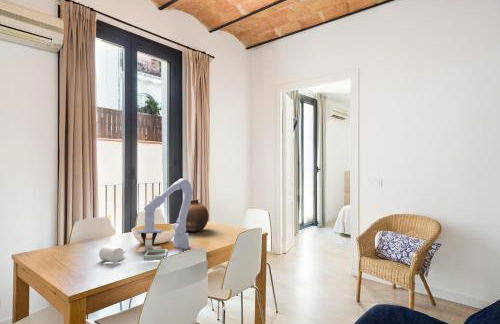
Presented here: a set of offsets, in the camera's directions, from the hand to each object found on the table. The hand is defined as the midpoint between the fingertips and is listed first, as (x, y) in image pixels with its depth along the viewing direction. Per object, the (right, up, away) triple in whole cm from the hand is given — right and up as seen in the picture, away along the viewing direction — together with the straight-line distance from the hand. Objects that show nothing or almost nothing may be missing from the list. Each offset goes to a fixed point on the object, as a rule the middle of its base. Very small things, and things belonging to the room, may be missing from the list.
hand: (149, 245), depth 182 cm
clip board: (0, -3, 0) cm, 3 cm away
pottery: (+18, -4, +53) cm, 56 cm away
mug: (-13, -4, -17) cm, 22 cm away
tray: (+8, -4, -11) cm, 14 cm away
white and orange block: (0, -2, 0) cm, 2 cm away
